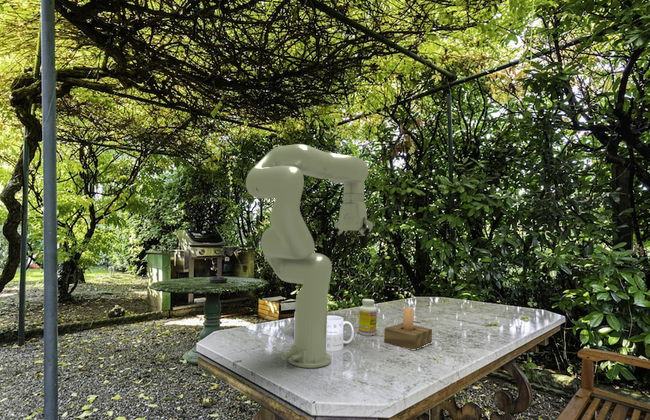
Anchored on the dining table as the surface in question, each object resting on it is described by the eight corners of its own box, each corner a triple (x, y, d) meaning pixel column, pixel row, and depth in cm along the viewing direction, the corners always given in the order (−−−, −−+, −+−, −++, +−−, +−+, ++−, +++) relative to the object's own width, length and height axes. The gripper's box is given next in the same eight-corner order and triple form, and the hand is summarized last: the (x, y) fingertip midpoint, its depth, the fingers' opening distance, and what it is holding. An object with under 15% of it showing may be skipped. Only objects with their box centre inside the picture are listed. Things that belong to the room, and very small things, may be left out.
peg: (410, 345, 126) (410, 310, 127) (401, 343, 129) (401, 308, 130) (415, 343, 129) (415, 308, 130) (406, 341, 132) (406, 307, 132)
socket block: (414, 350, 121) (414, 335, 121) (384, 342, 129) (384, 328, 129) (431, 343, 129) (432, 329, 130) (402, 336, 137) (402, 323, 138)
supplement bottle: (370, 337, 135) (371, 302, 136) (355, 334, 139) (356, 299, 140) (379, 333, 141) (380, 300, 141) (364, 330, 145) (365, 297, 145)
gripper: (329, 199, 136) (327, 245, 135) (366, 197, 124) (365, 247, 123) (342, 201, 141) (341, 245, 140) (379, 199, 130) (378, 247, 128)
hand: (352, 246), depth 132 cm, fingers open, 9 cm apart
